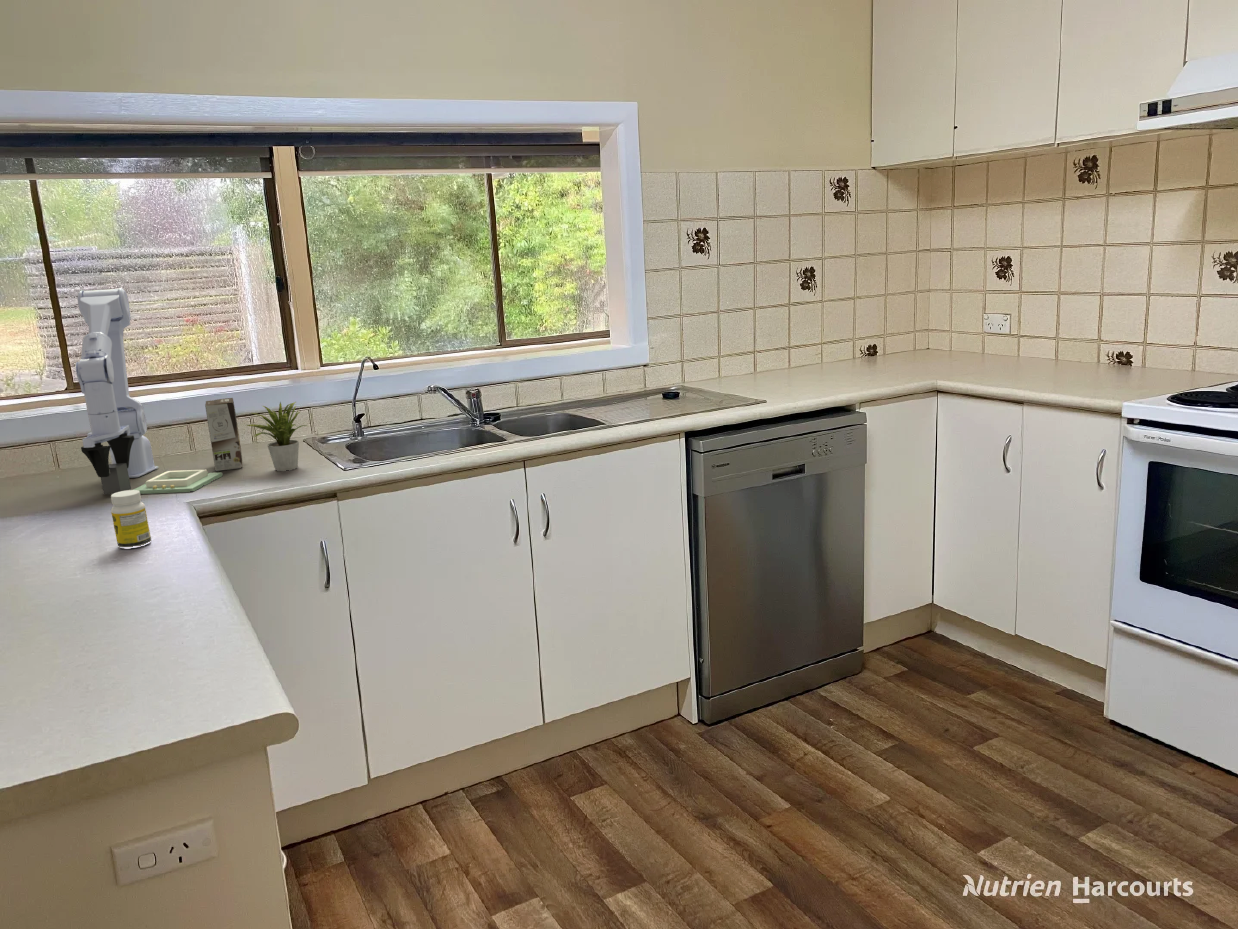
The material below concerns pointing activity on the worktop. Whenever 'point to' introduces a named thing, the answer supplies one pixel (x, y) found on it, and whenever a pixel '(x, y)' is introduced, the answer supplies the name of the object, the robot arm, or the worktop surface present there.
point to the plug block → (116, 479)
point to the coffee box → (224, 434)
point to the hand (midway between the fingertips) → (113, 472)
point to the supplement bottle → (130, 519)
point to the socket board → (178, 481)
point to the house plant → (281, 438)
